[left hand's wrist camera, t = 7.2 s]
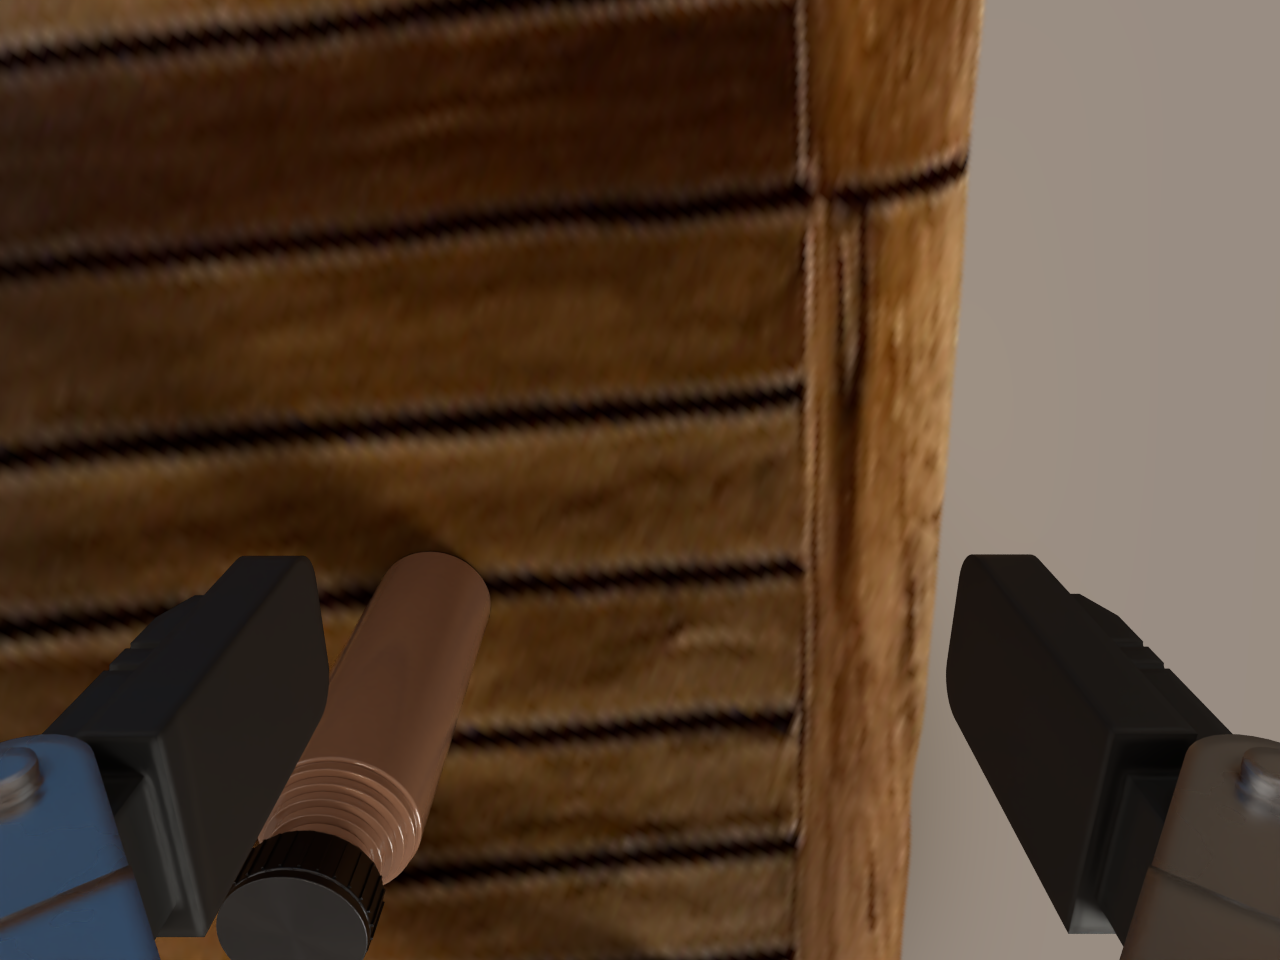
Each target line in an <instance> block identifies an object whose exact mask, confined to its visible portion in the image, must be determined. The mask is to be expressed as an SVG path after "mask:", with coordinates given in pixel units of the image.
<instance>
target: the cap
mask: <svg viewBox="0 0 1280 960" xmlns="http://www.w3.org/2000/svg"><path fill="white" fill-rule="evenodd" d="M384 893H385V889H384V887H383V881H382V875H380V873H379V871H378V869H377V867H376V865H375V863H374V862H373V861H372V860H371V859H370V858H369V857H368V856H367V855H366V854H365V853H364V852H363V851H362V850H361V849H360V848H359V847H358V846H356V845H354V844H352V843H350V842H348V841H347V840H345V839H343V838H341V837H339V836H336V835H332V834H328V833H324V832H318V831H314V830H300V831H298V830H297V831H288V832H284V833H279V834H278V835H275V836H273V837H270V838H268V839H264V840H263V841H262V843H261V844H259V845H258V846H257V847H255V848H252V849H251V851H250V853H249V855H248V857H247V858H246V860H245V862H244V864H243V866H242V868H241V870H240V872H239V873H238V875H237V877H236V879H235V881H234V883H233V885H232V886H231V888H230V890H229V892H228V894H227V896H226V898H225V900H224V901H223V903H222V905H221V907H220V910H219V912H218V916H217V924H216V928H217V935H218V938H219V942H220V944H221V946H222V948H223V950H224V951H225V953H226V954H227V955H228V957H229V958H230V959H231V960H363V958H364V957H365V954H366V952H367V951H368V948H369V945H370V942H371V940H372V939H373V936H374V933H375V930H376V927H377V924H378V921H379V918H380V915H381V912H382V909H383V906H384V902H383V896H384Z"/></svg>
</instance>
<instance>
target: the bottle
mask: <svg viewBox="0 0 1280 960" xmlns="http://www.w3.org/2000/svg"><path fill="white" fill-rule="evenodd" d="M490 609H491V602H490V595H489V592H488V589H487V587H486V584H485V583H484V581H483V579H482V578H481V576H480V575H479V574H478V573H477V571H475V570H474V569H473V568H472V567H471V566H470V565H469V564H467V563H466V562H464V561H463V560H461V559H459V558H457V557H454V556H452V555H449V554H445V553H440V552H420V553H415V554H412V555H409V556H406V557H404V558H402V559H400V560H399V561H397V562H396V563H395V564H393V565H392V566H391V567H390V568H389V569H388V570H387V572H386V573H385V575H384V576H383V578H382V580H381V582H380V583H379V585H378V587H377V589H376V590H375V592H374V594H373V596H372V597H371V599H370V601H369V603H368V605H367V606H366V608H365V610H364V612H363V613H362V615H361V617H360V619H359V620H358V622H357V624H356V626H355V628H354V629H353V631H352V633H351V635H350V636H349V638H348V640H347V642H346V644H345V645H344V647H343V649H342V651H341V652H340V654H339V656H338V658H337V659H336V661H335V663H334V665H333V667H332V668H331V670H330V672H329V690H328V697H327V702H326V706H325V710H324V713H323V716H322V718H321V720H320V722H319V724H318V726H317V727H316V729H315V731H314V733H313V735H312V737H311V739H310V741H309V742H308V744H307V746H306V748H305V750H304V752H303V754H302V756H301V757H300V759H299V761H298V763H297V765H296V767H295V769H294V771H293V772H292V774H291V776H290V778H289V780H288V782H287V784H286V785H285V787H284V789H283V791H282V793H281V795H280V797H279V799H278V800H277V802H276V804H275V806H274V808H273V810H272V812H271V814H270V815H269V817H268V819H267V821H266V823H265V825H264V827H263V828H262V830H261V832H260V834H259V836H258V840H259V843H260V844H261V843H262V841H263V840H264V839H268V838H270V837H273V836H275V835H278V834H279V833H284V832H288V831H297V830H298V831H300V830H314V831H318V832H324V833H328V834H332V835H336V836H339V837H341V838H343V839H345V840H347V841H348V842H350V843H352V844H354V845H356V846H358V847H359V848H360V849H361V850H362V851H363V852H364V853H365V854H366V855H367V856H368V857H369V858H370V859H371V860H372V861H373V862H374V863H375V865H376V867H377V869H378V871H379V873H380V875H382V881H383V885H384V884H386V883H388V882H390V881H391V880H393V879H394V878H395V877H397V876H398V875H399V874H400V873H401V872H402V871H403V870H404V868H405V867H406V866H407V865H408V863H409V862H410V860H411V859H412V858H413V857H414V855H415V853H416V851H417V850H418V847H419V845H420V842H421V839H422V835H423V832H424V829H425V825H426V822H427V819H428V816H429V812H430V809H431V806H432V802H433V799H434V796H435V793H436V789H437V786H438V783H439V780H440V776H441V773H442V770H443V766H444V763H445V760H446V757H447V753H448V750H449V747H450V743H451V740H452V737H453V734H454V730H455V727H456V724H457V720H458V717H459V714H460V711H461V707H462V704H463V701H464V697H465V694H466V691H467V688H468V684H469V681H470V678H471V675H472V671H473V668H474V665H475V661H476V658H477V655H478V652H479V648H480V645H481V642H482V638H483V635H484V632H485V629H486V625H487V622H488V619H489V615H490Z"/></svg>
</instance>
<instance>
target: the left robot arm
mask: <svg viewBox="0 0 1280 960" xmlns="http://www.w3.org/2000/svg"><path fill="white" fill-rule="evenodd" d="M946 684H947V693H948V699H949V704H950V707H951V710H952V713H953V716H954V718H955V720H956V722H957V723H958V725H959V727H960V729H961V731H962V733H963V735H964V737H965V739H966V741H967V742H968V744H969V746H970V748H971V750H972V752H973V754H974V756H975V758H976V759H977V761H978V763H979V765H980V767H981V769H982V771H983V773H984V775H985V776H986V778H987V780H988V782H989V784H990V786H991V788H992V790H993V792H994V794H995V796H996V797H997V799H998V801H999V803H1000V805H1001V807H1002V809H1003V811H1004V812H1005V814H1006V816H1007V818H1008V820H1009V822H1010V824H1011V826H1012V828H1013V829H1014V831H1015V833H1016V835H1017V837H1018V839H1019V841H1020V843H1021V845H1022V847H1023V848H1024V850H1025V852H1026V854H1027V856H1028V858H1029V860H1030V862H1031V864H1032V866H1033V867H1034V869H1035V871H1036V873H1037V875H1038V877H1039V879H1040V881H1041V883H1042V885H1043V886H1044V888H1045V890H1046V892H1047V894H1048V896H1049V898H1050V900H1051V901H1052V903H1053V905H1054V907H1055V909H1056V911H1057V913H1058V915H1059V917H1060V919H1061V920H1062V922H1063V924H1064V926H1065V928H1066V930H1067V932H1068V934H1116V935H1117V936H1118V938H1119V940H1120V941H1121V943H1122V945H1123V950H1122V954H1121V957H1120V960H1280V743H1279V742H1275V741H1272V740H1269V739H1264V738H1259V737H1254V736H1247V735H1237V734H1232V733H1231V732H1230V731H1229V730H1228V729H1227V728H1226V727H1225V726H1224V725H1223V724H1222V723H1221V722H1220V721H1219V719H1218V718H1217V717H1216V716H1215V715H1214V714H1213V713H1212V712H1211V711H1210V710H1209V709H1208V708H1207V707H1206V706H1205V705H1204V704H1203V703H1202V702H1201V701H1200V700H1199V699H1198V698H1197V697H1196V696H1195V695H1194V694H1193V693H1192V692H1191V691H1190V690H1189V689H1188V687H1187V686H1186V685H1185V684H1184V683H1183V682H1182V681H1181V680H1180V679H1179V678H1178V677H1177V676H1176V675H1175V674H1174V673H1173V672H1172V671H1171V670H1170V669H1164V663H1163V662H1162V661H1161V660H1160V659H1159V658H1158V657H1157V656H1156V654H1155V653H1154V652H1153V651H1152V650H1151V649H1150V648H1149V647H1143V641H1142V640H1141V639H1140V638H1139V637H1138V636H1137V635H1136V634H1135V633H1134V632H1133V631H1132V630H1131V629H1130V628H1129V627H1128V626H1127V625H1126V624H1125V622H1124V621H1123V620H1122V619H1121V618H1120V617H1119V616H1117V615H1116V614H1114V613H1112V612H1110V611H1109V610H1107V609H1105V608H1103V607H1102V606H1100V605H1098V604H1096V603H1095V602H1093V601H1091V600H1089V599H1088V598H1086V597H1084V596H1082V595H1081V594H1070V593H1069V592H1068V591H1067V590H1066V589H1065V588H1064V587H1063V585H1062V584H1061V583H1060V582H1059V581H1058V580H1057V579H1056V578H1055V577H1054V576H1053V574H1052V573H1051V572H1050V571H1049V570H1048V569H1047V568H1046V567H1045V566H1044V565H1043V563H1042V562H1041V561H1040V560H1039V559H1038V558H1037V557H1036V556H1034V555H969V556H968V557H967V558H966V559H965V560H964V562H963V565H962V568H961V571H960V576H959V583H958V590H957V597H956V604H955V611H954V617H953V624H952V631H951V638H950V645H949V652H948V659H947V667H946ZM328 690H329V665H328V658H327V651H326V644H325V638H324V631H323V624H322V617H321V611H320V604H319V597H318V590H317V584H316V577H315V572H314V569H313V566H312V564H311V562H310V560H309V559H308V558H307V557H305V556H242V557H240V558H238V559H237V560H236V561H235V562H234V563H233V564H232V565H231V567H230V568H229V569H228V570H227V571H226V572H225V573H224V574H223V575H222V576H221V577H220V578H219V580H218V581H217V582H216V583H215V584H214V585H213V586H212V587H211V588H210V589H209V590H208V591H207V593H206V594H205V595H195V596H193V597H191V598H189V599H188V600H186V601H184V602H182V603H181V604H179V605H177V606H175V607H174V608H172V609H170V610H168V611H167V612H165V613H163V614H161V615H159V616H158V617H156V618H155V619H154V620H153V621H152V622H151V623H150V624H149V625H148V626H147V627H146V628H145V629H144V630H143V631H142V632H141V633H140V634H139V635H138V636H137V637H136V638H135V639H134V640H133V641H132V642H131V647H130V649H125V650H124V651H123V652H122V653H121V654H120V655H119V656H118V657H117V658H116V659H115V660H114V661H113V662H112V663H111V664H110V668H109V671H103V672H102V673H101V674H100V675H99V676H98V677H97V678H96V679H95V680H94V681H93V682H92V683H91V684H90V685H89V686H88V688H87V689H86V690H85V691H84V692H83V693H82V694H81V695H80V696H79V697H78V698H77V699H76V700H75V701H74V702H73V703H72V704H71V705H70V706H69V707H68V708H67V709H66V710H65V711H64V712H63V713H62V714H61V715H60V716H59V717H58V718H57V719H56V720H55V721H54V722H53V723H52V724H51V725H50V726H49V727H48V728H47V729H46V730H45V732H44V733H43V734H42V735H33V736H26V737H21V738H16V739H11V740H8V741H4V742H1V743H0V960H160V957H159V953H158V950H157V947H156V944H155V941H154V940H155V939H156V937H205V935H206V933H207V931H208V930H209V928H210V926H211V924H212V922H213V920H214V918H215V916H216V915H217V913H218V911H219V909H220V907H221V905H222V903H223V901H224V900H225V898H226V896H227V894H228V892H229V890H230V888H231V886H232V885H233V883H234V881H235V879H236V877H237V875H238V873H239V872H240V870H241V868H242V866H243V864H244V862H245V860H246V858H247V857H248V855H249V853H250V851H251V849H252V847H253V845H254V843H255V842H256V840H257V838H258V836H259V834H260V832H261V830H262V828H263V827H264V825H265V823H266V821H267V819H268V817H269V815H270V814H271V812H272V810H273V808H274V806H275V804H276V802H277V800H278V799H279V797H280V795H281V793H282V791H283V789H284V787H285V785H286V784H287V782H288V780H289V778H290V776H291V774H292V772H293V771H294V769H295V767H296V765H297V763H298V761H299V759H300V757H301V756H302V754H303V752H304V750H305V748H306V746H307V744H308V742H309V741H310V739H311V737H312V735H313V733H314V731H315V729H316V727H317V726H318V724H319V722H320V720H321V718H322V716H323V713H324V710H325V706H326V702H327V697H328Z"/></svg>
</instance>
